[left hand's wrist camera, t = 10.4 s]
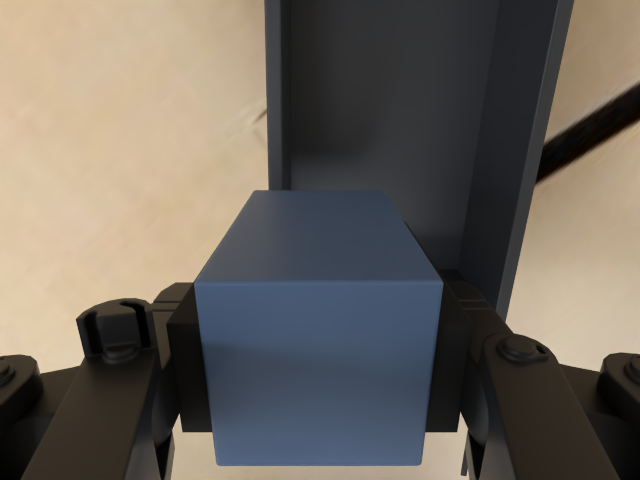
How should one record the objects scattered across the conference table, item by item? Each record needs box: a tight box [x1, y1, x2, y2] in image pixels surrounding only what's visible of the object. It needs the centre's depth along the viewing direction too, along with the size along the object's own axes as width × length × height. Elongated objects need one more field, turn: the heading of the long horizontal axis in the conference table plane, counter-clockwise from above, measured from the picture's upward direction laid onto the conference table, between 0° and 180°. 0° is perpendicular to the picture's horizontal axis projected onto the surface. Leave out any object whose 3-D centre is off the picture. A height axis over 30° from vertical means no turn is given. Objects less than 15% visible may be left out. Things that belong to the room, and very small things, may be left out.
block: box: [194, 190, 443, 466], centre depth 11 cm, size 4×4×7 cm
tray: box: [264, 0, 574, 322], centre depth 17 cm, size 27×11×6 cm, turn 179°
